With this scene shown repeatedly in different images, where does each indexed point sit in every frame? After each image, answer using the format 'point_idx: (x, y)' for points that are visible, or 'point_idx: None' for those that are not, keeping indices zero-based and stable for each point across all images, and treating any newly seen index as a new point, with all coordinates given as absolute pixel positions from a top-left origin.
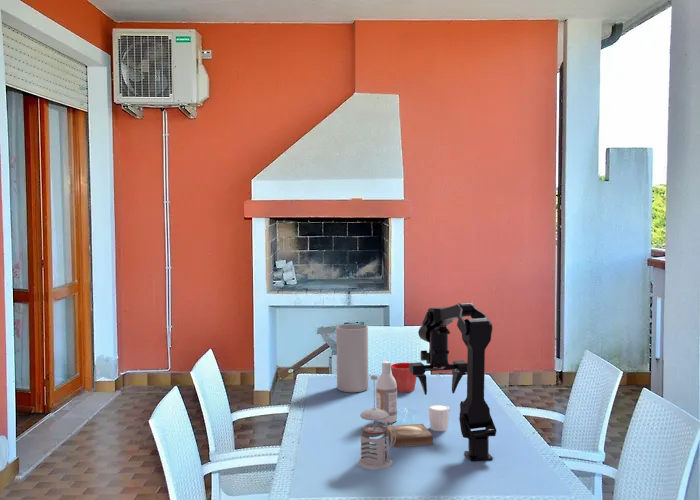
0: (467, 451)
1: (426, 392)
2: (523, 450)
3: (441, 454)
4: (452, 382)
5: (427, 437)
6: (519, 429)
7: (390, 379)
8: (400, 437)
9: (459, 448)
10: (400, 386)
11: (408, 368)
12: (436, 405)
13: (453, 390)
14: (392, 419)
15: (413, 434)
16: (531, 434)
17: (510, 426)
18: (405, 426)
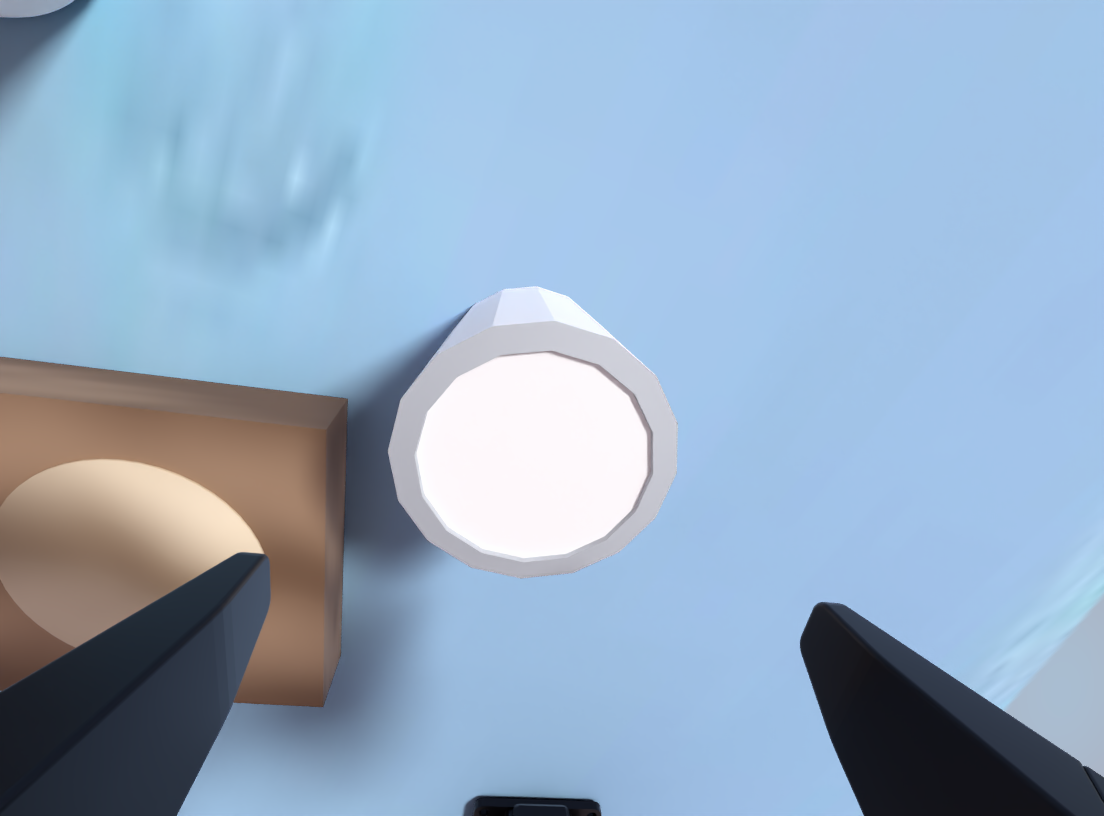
0: (493, 811)
1: (241, 664)
2: (798, 813)
3: (340, 782)
4: (986, 791)
5: (278, 698)
6: (1064, 561)
7: None
8: None
9: (485, 735)
10: None
11: None
12: (547, 364)
13: (823, 717)
14: (12, 9)
15: None
16: (1041, 651)
17: (1070, 494)
18: (114, 465)
